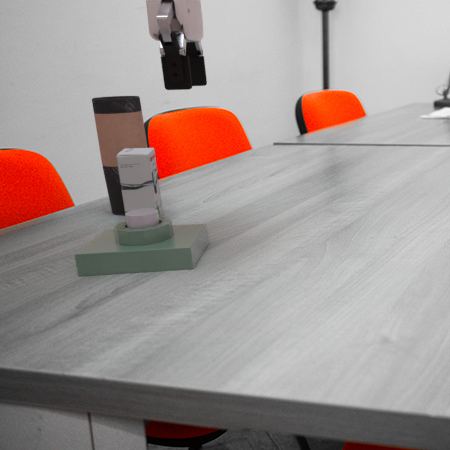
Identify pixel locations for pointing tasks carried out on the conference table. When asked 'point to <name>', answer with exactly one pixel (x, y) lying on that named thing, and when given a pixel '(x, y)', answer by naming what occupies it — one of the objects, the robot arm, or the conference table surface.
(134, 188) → the ink box
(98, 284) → the conference table surface
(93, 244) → the green base with button
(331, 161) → the conference table surface
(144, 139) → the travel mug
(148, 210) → the pump button
